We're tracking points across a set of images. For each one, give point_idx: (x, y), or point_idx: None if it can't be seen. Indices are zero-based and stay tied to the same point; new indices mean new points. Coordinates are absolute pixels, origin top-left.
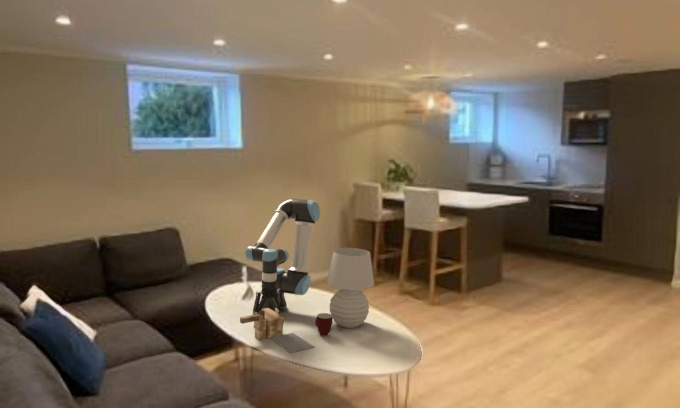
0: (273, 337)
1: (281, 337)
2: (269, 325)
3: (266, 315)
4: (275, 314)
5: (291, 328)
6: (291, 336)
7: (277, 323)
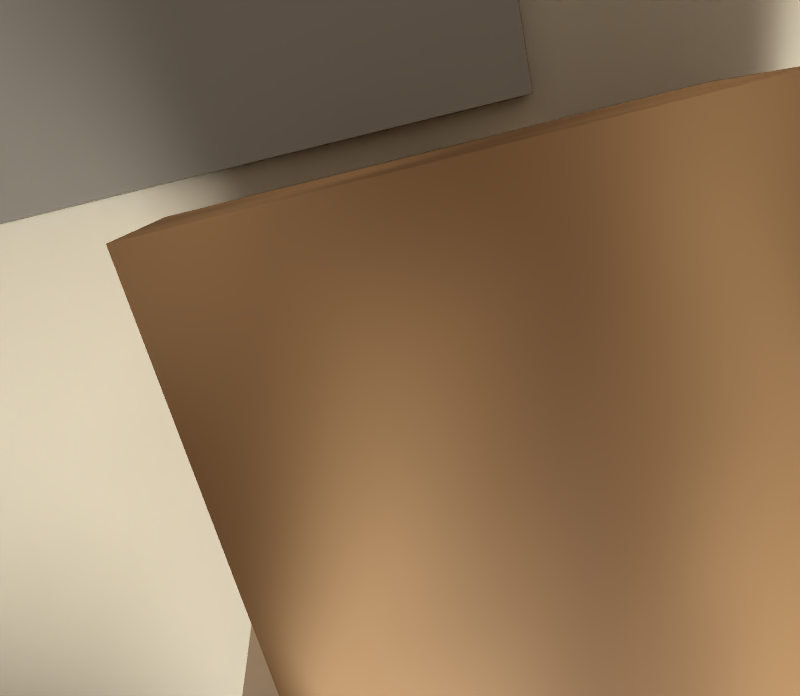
0: (470, 81)
1: (310, 23)
2: (689, 88)
3: (688, 604)
4: (379, 642)
5: (2, 474)
6: (71, 8)
7: (412, 158)
